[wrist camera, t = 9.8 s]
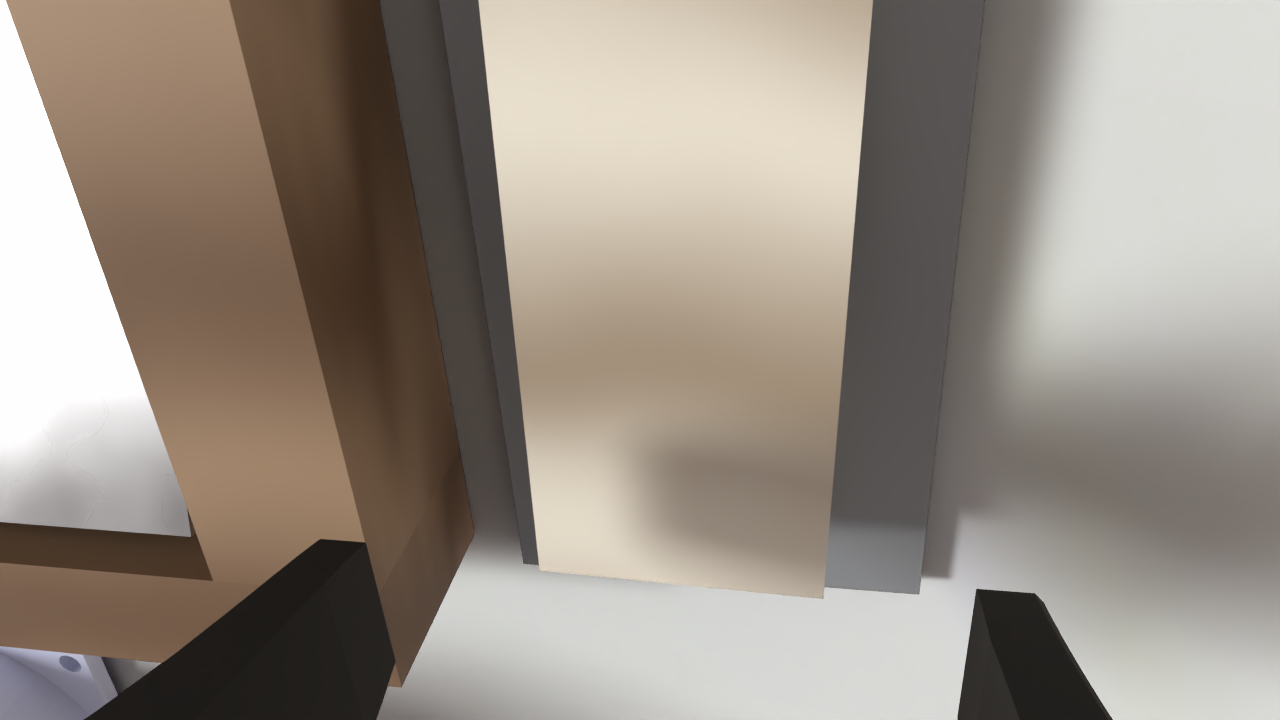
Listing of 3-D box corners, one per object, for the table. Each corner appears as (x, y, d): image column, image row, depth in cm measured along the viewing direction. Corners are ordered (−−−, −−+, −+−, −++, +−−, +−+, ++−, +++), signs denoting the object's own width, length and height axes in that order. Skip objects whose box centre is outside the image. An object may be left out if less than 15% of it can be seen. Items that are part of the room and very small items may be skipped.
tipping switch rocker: (-178, -93, 15) (-205, -97, 14) (120, -107, 14) (100, -112, 13) (-54, 506, 17) (-74, 516, 17) (205, 525, 16) (191, 536, 16)
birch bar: (523, -46, 13) (476, -15, 12) (870, -47, 13) (874, -16, 11) (568, 493, 18) (539, 570, 16) (825, 516, 17) (823, 599, 16)
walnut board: (-424, -331, 14) (-795, -355, 11) (306, -406, 12) (114, -461, 9) (-22, 497, 22) (-173, 628, 18) (474, 533, 20) (401, 687, 16)
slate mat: (917, 575, 18) (919, 594, 18) (530, 545, 20) (523, 563, 19) (1021, -387, 11) (1027, -391, 11) (403, -333, 12) (388, -336, 12)
